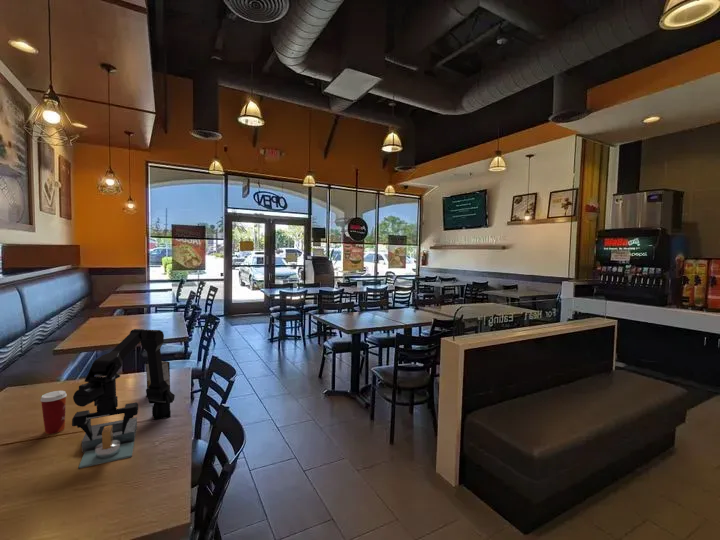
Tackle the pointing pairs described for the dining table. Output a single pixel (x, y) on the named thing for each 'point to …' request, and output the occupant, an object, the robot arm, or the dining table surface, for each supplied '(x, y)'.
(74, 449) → the dining table surface
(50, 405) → the coffee cup
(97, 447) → the grey round brown-barred piece
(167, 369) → the coffee box
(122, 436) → the housing
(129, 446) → the mat
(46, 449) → the dining table surface
